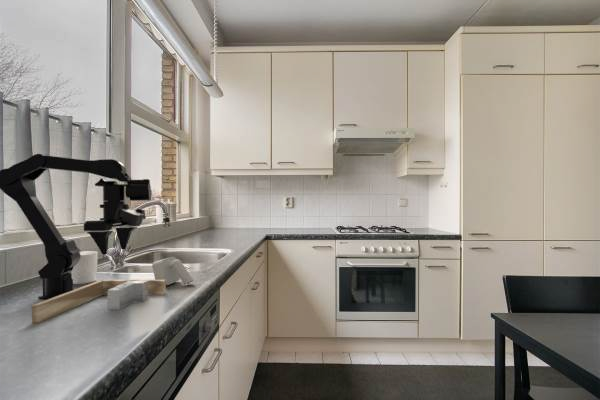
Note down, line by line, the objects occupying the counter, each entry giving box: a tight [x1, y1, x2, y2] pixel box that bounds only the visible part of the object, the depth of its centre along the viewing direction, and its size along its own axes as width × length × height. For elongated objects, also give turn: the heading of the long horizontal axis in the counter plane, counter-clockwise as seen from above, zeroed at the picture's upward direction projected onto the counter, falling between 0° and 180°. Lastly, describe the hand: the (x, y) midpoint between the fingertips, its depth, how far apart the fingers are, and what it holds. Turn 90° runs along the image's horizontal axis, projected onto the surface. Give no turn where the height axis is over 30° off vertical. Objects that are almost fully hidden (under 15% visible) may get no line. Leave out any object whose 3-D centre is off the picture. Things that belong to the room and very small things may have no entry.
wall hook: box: [151, 256, 194, 286], centre depth 102 cm, size 8×10×10 cm
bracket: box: [107, 281, 149, 311], centre depth 83 cm, size 9×6×5 cm, turn 178°
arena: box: [31, 279, 167, 324], centre depth 81 cm, size 20×23×4 cm
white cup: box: [70, 250, 99, 285], centre depth 107 cm, size 8×8×10 cm
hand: (114, 251), depth 95 cm, fingers open, 9 cm apart
